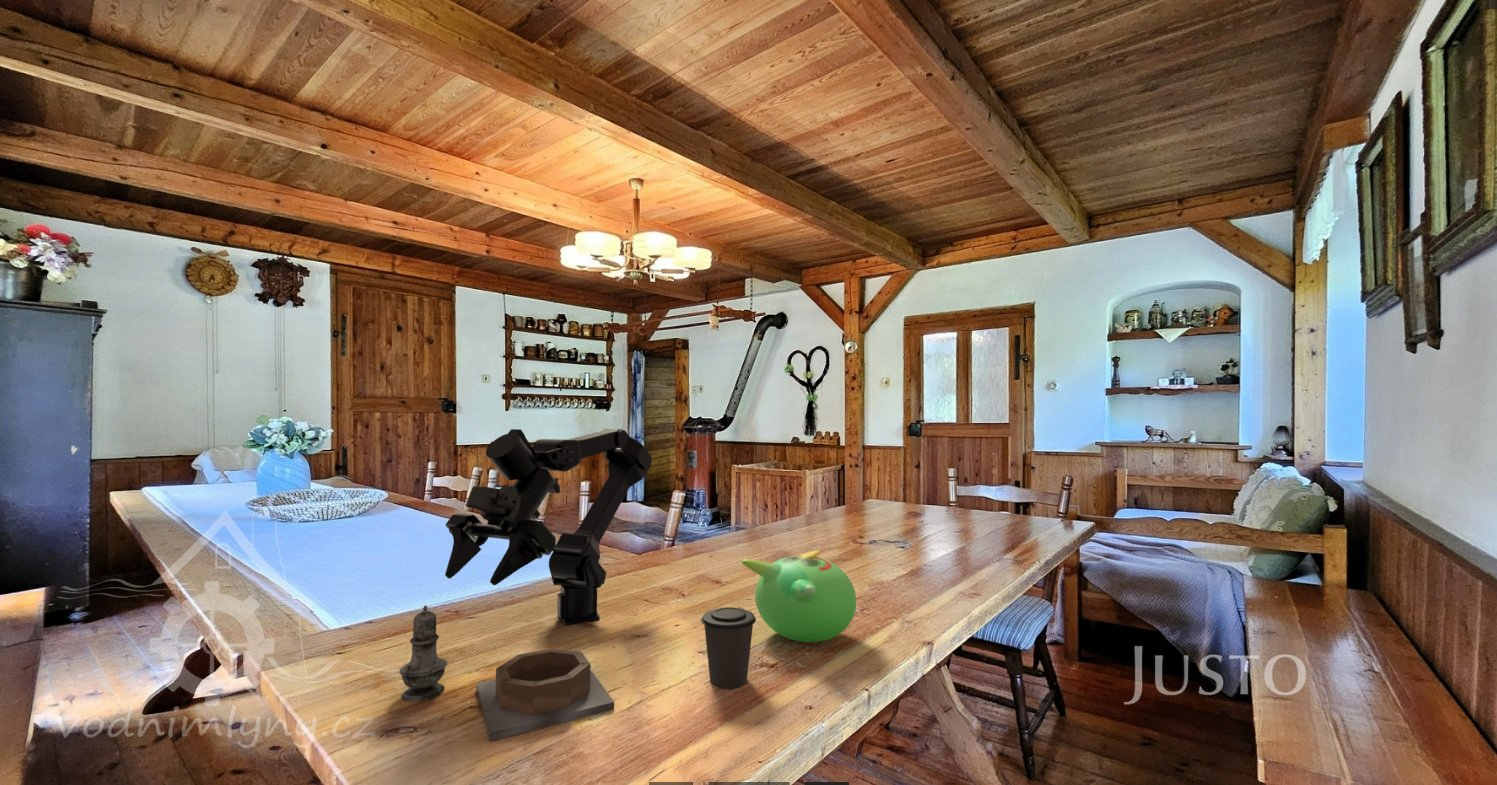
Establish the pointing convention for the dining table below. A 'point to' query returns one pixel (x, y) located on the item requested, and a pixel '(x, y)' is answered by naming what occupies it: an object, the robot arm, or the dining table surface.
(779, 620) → the round green monster
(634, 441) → the robot arm
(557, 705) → the socket
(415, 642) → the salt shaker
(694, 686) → the dining table surface
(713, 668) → the coffee cup
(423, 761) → the dining table surface
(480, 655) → the dining table surface
